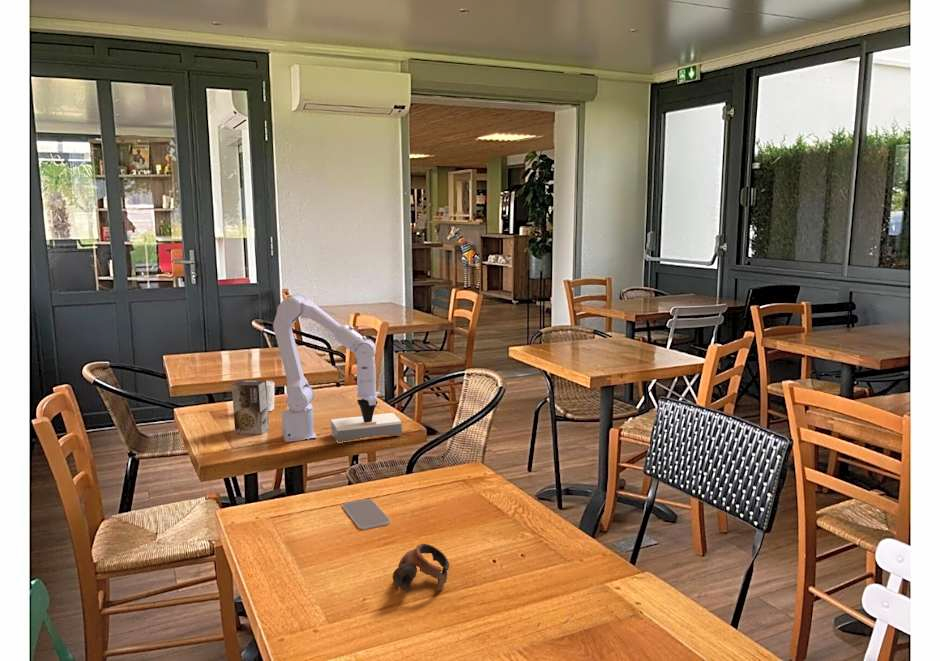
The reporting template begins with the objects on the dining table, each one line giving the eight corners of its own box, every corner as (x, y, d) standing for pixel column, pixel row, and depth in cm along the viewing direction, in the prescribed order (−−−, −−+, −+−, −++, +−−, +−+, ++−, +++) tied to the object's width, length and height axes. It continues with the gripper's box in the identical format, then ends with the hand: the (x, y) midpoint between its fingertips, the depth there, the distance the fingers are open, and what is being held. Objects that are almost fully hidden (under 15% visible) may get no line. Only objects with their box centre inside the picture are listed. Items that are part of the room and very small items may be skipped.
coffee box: (269, 428, 228) (267, 380, 226) (261, 434, 222) (259, 384, 219) (242, 427, 229) (239, 379, 227) (234, 433, 223) (231, 384, 220)
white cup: (251, 409, 251) (249, 382, 249) (273, 406, 254) (272, 379, 253) (254, 415, 244) (252, 386, 242) (277, 412, 247) (276, 384, 245)
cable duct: (337, 443, 213) (337, 431, 212) (331, 434, 222) (331, 422, 222) (401, 436, 220) (401, 423, 220) (393, 427, 229) (392, 415, 229)
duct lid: (337, 431, 212) (337, 426, 212) (331, 421, 222) (331, 417, 221) (401, 423, 220) (401, 419, 219) (392, 415, 229) (392, 411, 229)
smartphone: (370, 498, 171) (392, 521, 158) (371, 501, 171) (392, 525, 158) (341, 503, 168) (360, 527, 155) (341, 507, 168) (360, 531, 155)
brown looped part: (407, 569, 139) (428, 535, 137) (441, 603, 134) (463, 568, 133) (370, 581, 128) (393, 545, 127) (405, 618, 124) (429, 581, 123)
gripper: (385, 383, 211) (386, 427, 213) (373, 373, 224) (374, 414, 227) (362, 385, 209) (363, 430, 211) (351, 375, 222) (352, 417, 224)
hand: (367, 422), depth 219 cm, fingers closed, pressing on duct lid
